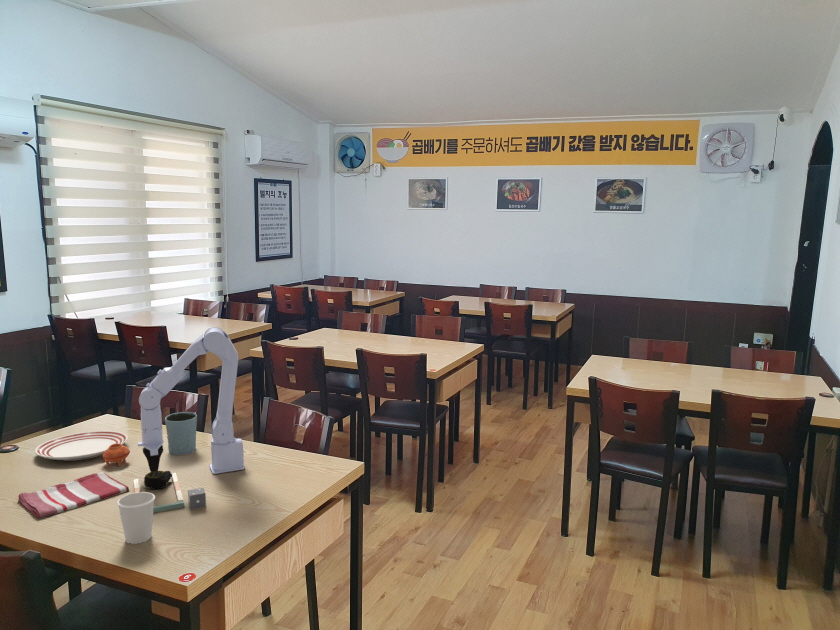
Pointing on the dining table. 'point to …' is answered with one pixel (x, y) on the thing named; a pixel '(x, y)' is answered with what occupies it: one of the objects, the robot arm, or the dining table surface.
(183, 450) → the teal cylindrical container
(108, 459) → the pot
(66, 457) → the dinner plate
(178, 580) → the dining table surface
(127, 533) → the dixie cup
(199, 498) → the die
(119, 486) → the dish towel
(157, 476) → the tape measure
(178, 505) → the track
